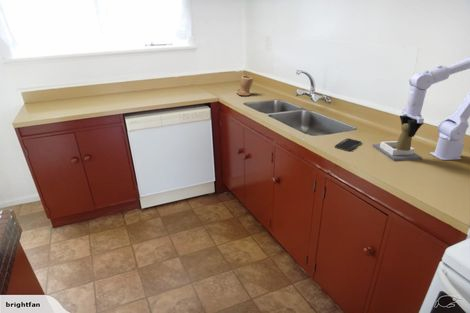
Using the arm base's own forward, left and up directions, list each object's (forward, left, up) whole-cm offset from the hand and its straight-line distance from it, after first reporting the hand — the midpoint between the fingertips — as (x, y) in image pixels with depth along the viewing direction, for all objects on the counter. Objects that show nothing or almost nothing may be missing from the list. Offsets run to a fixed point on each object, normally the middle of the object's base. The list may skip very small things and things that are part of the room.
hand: (407, 134), depth 134 cm
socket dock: (0, -5, -10) cm, 11 cm away
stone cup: (+50, -131, -11) cm, 141 cm away
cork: (+1, 0, -7) cm, 7 cm away
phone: (+18, -15, -11) cm, 26 cm away
